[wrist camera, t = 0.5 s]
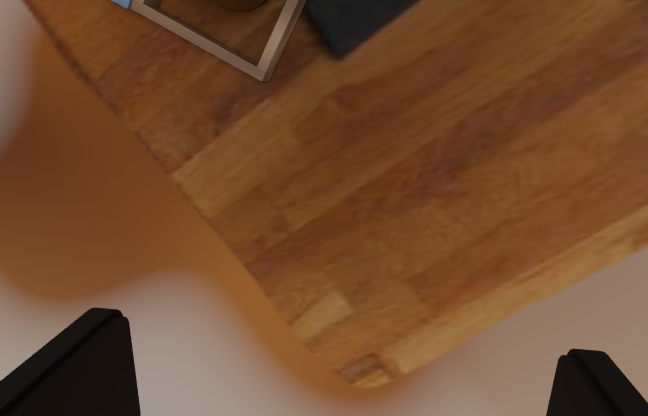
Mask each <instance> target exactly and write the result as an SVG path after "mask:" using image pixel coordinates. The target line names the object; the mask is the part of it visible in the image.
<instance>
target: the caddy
mask: <svg viewBox="0 0 648 416" xmlns="http://www.w3.org/2000/svg"><path fill="white" fill-rule="evenodd" d="M112 1H114V2H116V3H117V4H119V5H121V6H123V7H125V8H126V9H129V10H130V9H132V10H134V11H136V12H138V13H139V14H141V15H143V16H145V17H147V18H148V19H150V20H152V21H154V22H156V23H157V24H159V25H161V26H163V27H165V28H166V29H168V30H170V31H172V32H174V33H175V34H177V35H179V36H181V37H183V38H184V39H186V40H188V41H190V42H192V43H193V44H195V45H197V46H199V47H201V48H202V49H204V50H206V51H208V52H210V53H211V54H213V55H215V56H217V57H219V58H220V59H222V60H224V61H226V62H228V63H229V64H231V65H233V66H235V67H237V68H238V69H240V70H242V71H244V72H246V73H247V74H249V75H251V76H253V77H255V78H256V79H258V80H260V81H269V80H270V78H271V76H272V74H273V72H274V69H275V67H276V65H277V63H278V61H279V59H280V57H281V54H282V52H283V50H284V48H285V46H286V44H287V41H288V39H289V37H290V35H291V33H292V31H293V28H294V26H295V24H296V22H297V20H298V18H299V16H300V13H301V11H302V9H303V7H304V5H305V3H306V0H287V1H286V3H285V5H284V8H283V10H282V12H281V14H280V16H279V19H278V21H277V23H276V25H275V28H274V30H273V32H272V34H271V37H270V39H269V41H268V43H267V45H266V48H265V50H264V52H263V54H262V57H261V59H260V61H259V63H258V64H257V63H255V62H254V61H252V60H250V59H248V58H246V57H245V56H243V55H241V54H239V53H238V52H236V51H234V50H232V49H230V48H229V47H227V46H225V45H223V44H221V43H220V42H218V41H216V40H214V39H212V38H211V37H209V36H207V35H205V34H203V33H202V32H200V31H198V30H196V29H194V28H193V27H191V26H189V25H187V24H186V23H184V22H182V21H180V20H178V19H177V18H175V17H173V16H171V15H169V14H168V13H166V12H164V11H162V10H160V9H159V6H160V3H161V0H112Z"/></svg>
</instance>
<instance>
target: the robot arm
mask: <svg viewBox="0 0 648 416" xmlns="http://www.w3.org/2000/svg"><path fill="white" fill-rule="evenodd" d="M0 416H140V405H139V397H138V389H137V381H136V373H135V365H134V358H133V350H132V342H131V335H130V326H129V321H128V319H127V318H126V317H123V315H122V313H121V311H119V310H117V309H106V308H91V309H90V310H88V311H87V312H85V313H84V314H83V315H82V316H81V317H79V318H78V319H77V320H75V321H74V322H73V323H72V324H71V325H69V326H68V327H67V328H66V329H64V330H63V331H62V332H61V333H59V334H58V335H57V336H56V337H55V338H53V339H52V340H51V341H49V342H48V343H47V344H46V345H45V346H43V347H42V348H41V349H40V350H38V351H37V352H36V353H35V354H33V355H32V356H31V357H30V358H28V359H27V360H26V361H25V362H23V363H22V364H21V365H20V366H19V367H17V368H16V369H15V370H14V371H12V372H11V373H10V374H9V375H7V376H6V377H5V378H4V379H2V380H1V381H0ZM546 416H648V403H647V402H646V400H645V399H644V398H643V397H642V395H641V394H640V393H639V392H638V391H637V389H636V388H635V387H634V386H633V385H632V384H631V382H630V381H629V380H628V379H627V378H626V376H625V375H624V374H623V373H622V372H621V370H620V369H619V368H618V367H617V366H616V364H615V363H614V362H613V361H612V360H611V358H610V357H609V356H608V355H607V354H606V353H605V352H602V351H594V350H583V349H571V350H570V351H569V352H568V354H567V355H562V356H561V357H560V358H559V360H558V364H557V368H556V373H555V377H554V382H553V387H552V391H551V396H550V401H549V405H548V410H547V414H546Z"/></svg>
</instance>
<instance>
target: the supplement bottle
mask: <svg viewBox="0 0 648 416" xmlns="http://www.w3.org/2000/svg"><path fill="white" fill-rule="evenodd" d="M208 1H210V2H212V3H215V4H217V5H219V6H222V7H224V8H227V9H230V10H235V11H245V10H250V9H253V8H256V7H258V6H259V5H261V4H262V3H264V2H265V1H266V0H208Z"/></svg>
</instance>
